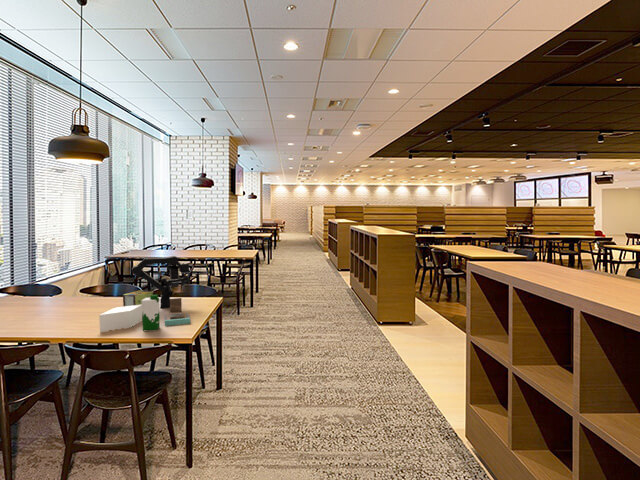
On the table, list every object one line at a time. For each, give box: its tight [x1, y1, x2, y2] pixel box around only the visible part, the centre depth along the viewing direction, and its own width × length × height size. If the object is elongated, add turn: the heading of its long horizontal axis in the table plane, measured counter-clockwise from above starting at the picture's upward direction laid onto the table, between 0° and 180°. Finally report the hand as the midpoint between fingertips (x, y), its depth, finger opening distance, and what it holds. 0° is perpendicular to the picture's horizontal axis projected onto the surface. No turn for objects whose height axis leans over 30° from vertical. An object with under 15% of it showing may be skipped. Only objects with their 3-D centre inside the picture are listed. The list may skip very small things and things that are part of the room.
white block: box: [98, 304, 142, 333], centre depth 237 cm, size 14×29×10 cm, turn 153°
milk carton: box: [141, 294, 161, 332], centre depth 230 cm, size 9×9×20 cm
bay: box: [164, 313, 191, 327], centre depth 246 cm, size 15×14×3 cm
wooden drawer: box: [169, 297, 185, 320], centre depth 256 cm, size 14×8×11 cm, turn 22°
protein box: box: [122, 289, 154, 307], centre depth 258 cm, size 10×15×16 cm
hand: (175, 291), depth 272 cm, fingers open, 7 cm apart
